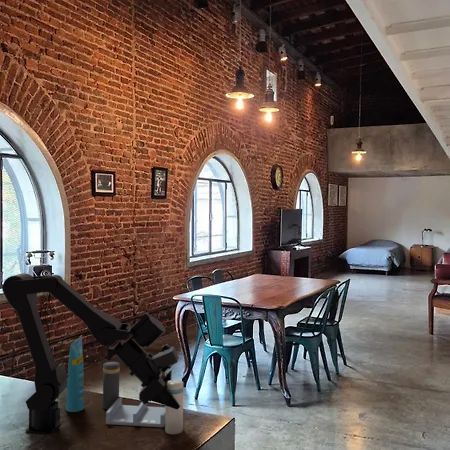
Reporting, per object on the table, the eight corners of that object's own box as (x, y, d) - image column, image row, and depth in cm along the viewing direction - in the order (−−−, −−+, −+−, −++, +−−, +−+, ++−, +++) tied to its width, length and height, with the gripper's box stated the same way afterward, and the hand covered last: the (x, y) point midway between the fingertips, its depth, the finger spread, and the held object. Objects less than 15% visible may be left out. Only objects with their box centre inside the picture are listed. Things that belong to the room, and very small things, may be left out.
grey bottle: (100, 409, 137) (100, 366, 137) (105, 403, 142) (106, 361, 141) (116, 410, 137) (116, 366, 137) (121, 404, 141) (121, 362, 141)
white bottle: (163, 433, 122) (163, 385, 122) (166, 426, 127) (167, 379, 127) (181, 434, 122) (181, 386, 122) (184, 427, 126) (185, 380, 126)
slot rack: (105, 424, 128) (106, 412, 127) (119, 407, 138) (119, 397, 138) (163, 427, 126) (163, 415, 126) (172, 410, 137) (172, 399, 137)
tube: (80, 414, 133) (81, 343, 133) (62, 414, 133) (63, 342, 133) (87, 404, 141) (88, 336, 141) (69, 403, 141) (70, 336, 140)
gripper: (153, 346, 115) (200, 395, 115) (164, 328, 133) (204, 370, 133) (119, 380, 115) (166, 428, 115) (134, 357, 134) (175, 399, 134)
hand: (179, 404), depth 124 cm, fingers closed on white bottle, 4 cm apart
